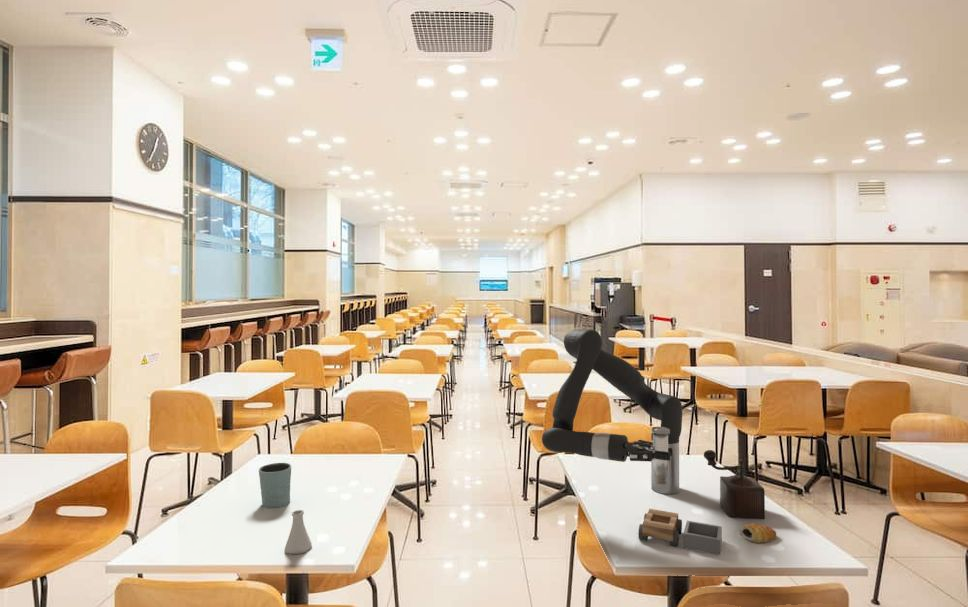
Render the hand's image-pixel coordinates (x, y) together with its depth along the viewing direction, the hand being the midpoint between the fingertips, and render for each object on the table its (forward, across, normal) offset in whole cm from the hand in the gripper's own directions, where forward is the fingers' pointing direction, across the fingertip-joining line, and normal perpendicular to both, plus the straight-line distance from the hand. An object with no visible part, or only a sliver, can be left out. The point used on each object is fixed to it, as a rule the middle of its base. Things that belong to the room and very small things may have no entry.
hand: (670, 454), depth 148 cm
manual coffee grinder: (+15, +28, +24) cm, 40 cm away
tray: (+8, 0, +24) cm, 25 cm away
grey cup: (-121, -30, +24) cm, 127 cm away
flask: (-90, -50, +24) cm, 105 cm away
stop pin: (-3, 0, +8) cm, 9 cm away
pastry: (+22, +11, +24) cm, 34 cm away
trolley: (-3, +1, +24) cm, 24 cm away
